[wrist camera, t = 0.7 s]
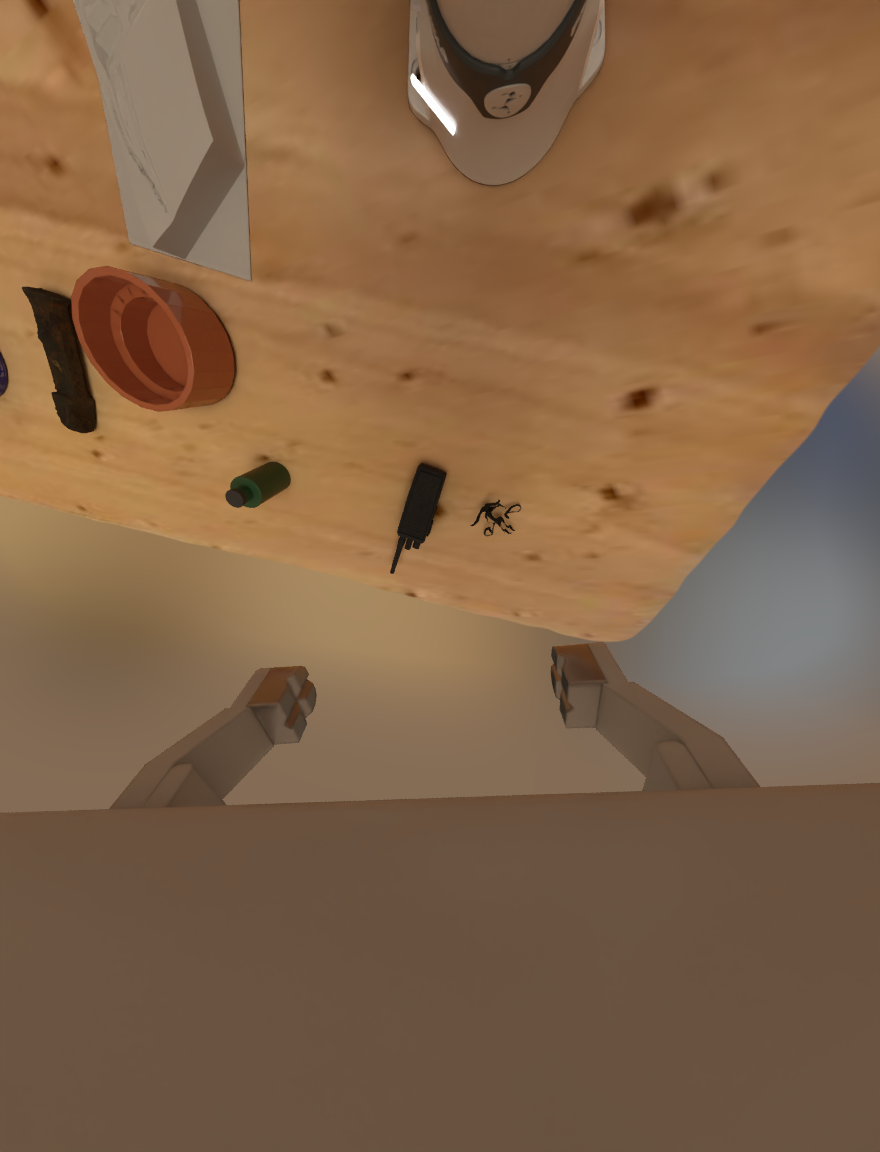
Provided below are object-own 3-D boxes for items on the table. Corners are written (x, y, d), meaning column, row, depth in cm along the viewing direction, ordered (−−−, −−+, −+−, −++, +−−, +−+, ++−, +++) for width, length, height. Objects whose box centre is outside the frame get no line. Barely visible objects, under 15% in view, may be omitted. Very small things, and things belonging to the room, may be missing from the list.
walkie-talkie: (459, 478, 52) (421, 582, 62) (435, 464, 56) (403, 564, 65) (429, 474, 48) (394, 586, 57) (406, 459, 52) (376, 567, 61)
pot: (116, 290, 46) (43, 276, 38) (210, 275, 44) (153, 257, 36) (170, 408, 54) (118, 415, 46) (252, 400, 52) (213, 406, 44)
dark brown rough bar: (46, 286, 47) (6, 280, 43) (76, 298, 47) (39, 293, 43) (79, 424, 57) (50, 428, 53) (103, 433, 57) (75, 438, 53)
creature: (528, 511, 57) (498, 483, 54) (537, 528, 53) (505, 499, 50) (494, 540, 61) (463, 515, 57) (500, 558, 57) (467, 533, 53)
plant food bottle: (259, 462, 57) (211, 483, 47) (285, 460, 56) (242, 481, 46) (269, 490, 59) (226, 515, 50) (294, 488, 59) (255, 514, 49)
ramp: (45, -207, 28) (-40, -318, 23) (232, -138, 29) (185, -232, 24) (130, 243, 43) (89, 229, 39) (251, 281, 44) (224, 271, 39)
